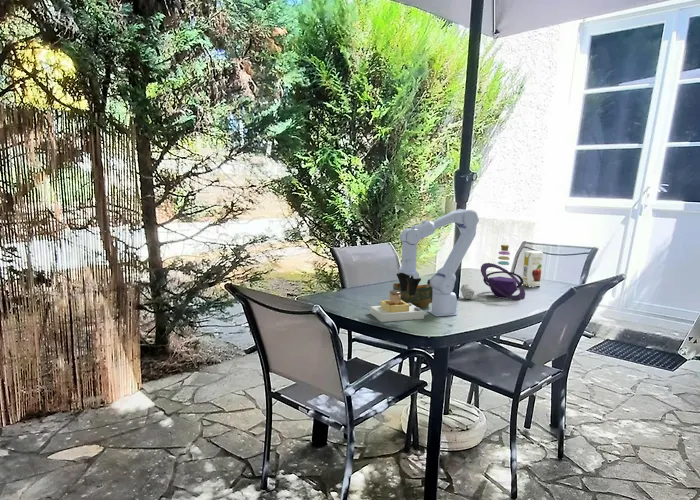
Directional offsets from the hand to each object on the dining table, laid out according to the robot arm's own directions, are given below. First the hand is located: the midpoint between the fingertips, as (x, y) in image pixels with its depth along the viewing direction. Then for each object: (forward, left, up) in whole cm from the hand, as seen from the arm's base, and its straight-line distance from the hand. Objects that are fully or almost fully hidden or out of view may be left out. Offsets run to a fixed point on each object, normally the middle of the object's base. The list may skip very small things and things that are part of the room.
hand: (407, 293), depth 179 cm
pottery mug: (-33, -36, -10) cm, 50 cm away
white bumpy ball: (-40, -20, -10) cm, 46 cm away
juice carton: (-90, -37, -10) cm, 98 cm away
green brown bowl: (-11, -16, -10) cm, 22 cm away
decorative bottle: (-59, -20, -10) cm, 63 cm away
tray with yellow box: (+4, -1, -9) cm, 10 cm away
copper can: (+5, -1, -6) cm, 8 cm away
